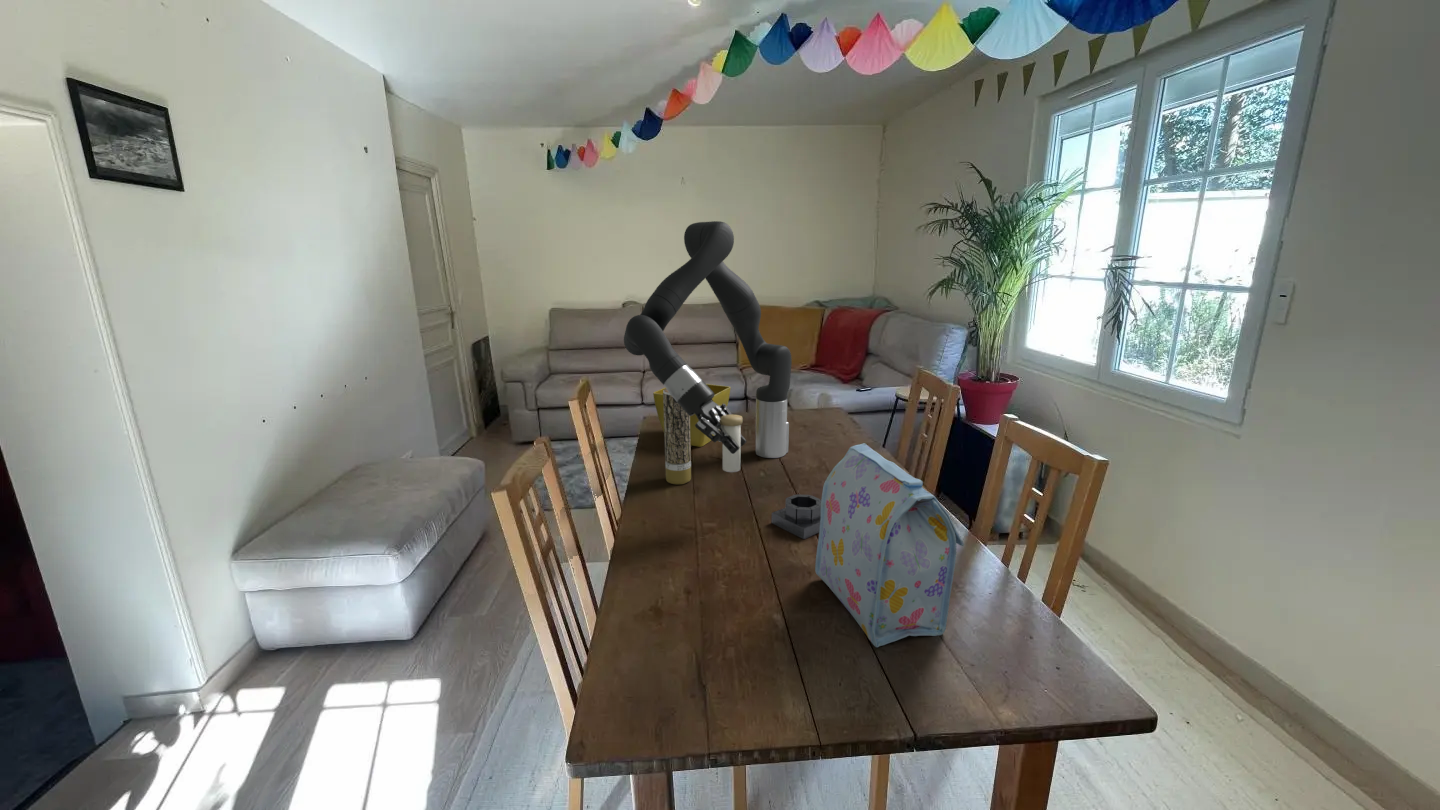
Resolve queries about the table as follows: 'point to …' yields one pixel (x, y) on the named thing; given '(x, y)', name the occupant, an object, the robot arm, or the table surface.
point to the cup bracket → (799, 515)
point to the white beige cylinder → (734, 430)
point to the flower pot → (695, 434)
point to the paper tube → (676, 441)
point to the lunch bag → (886, 548)
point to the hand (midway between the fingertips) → (739, 447)
